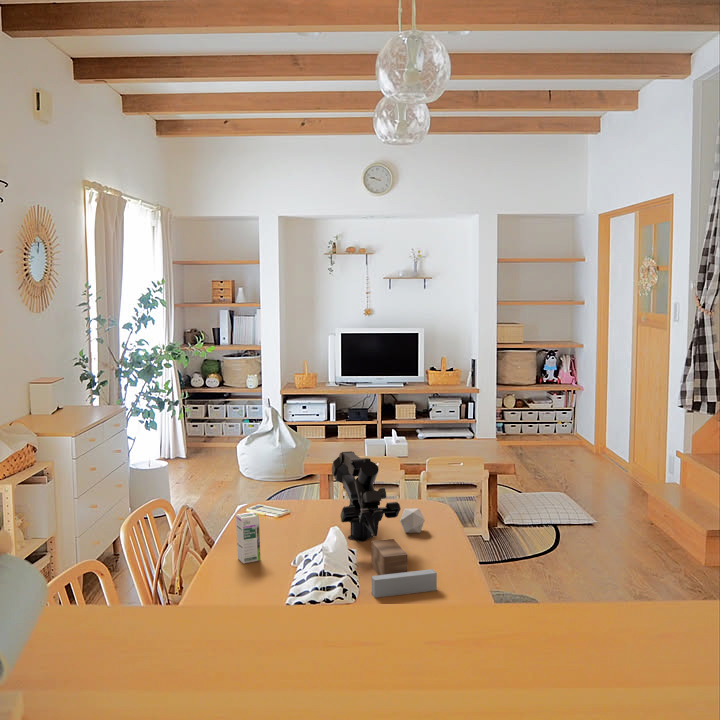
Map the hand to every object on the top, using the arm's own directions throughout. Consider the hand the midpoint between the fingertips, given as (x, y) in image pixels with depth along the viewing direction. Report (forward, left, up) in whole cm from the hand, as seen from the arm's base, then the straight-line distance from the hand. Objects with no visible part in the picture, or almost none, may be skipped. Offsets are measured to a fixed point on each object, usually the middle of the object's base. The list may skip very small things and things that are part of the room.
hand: (375, 536), depth 240 cm
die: (-5, +27, -7) cm, 29 cm away
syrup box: (-30, -26, -7) cm, 40 cm away
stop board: (+23, -17, -7) cm, 29 cm away
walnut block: (+11, -8, -7) cm, 16 cm away
